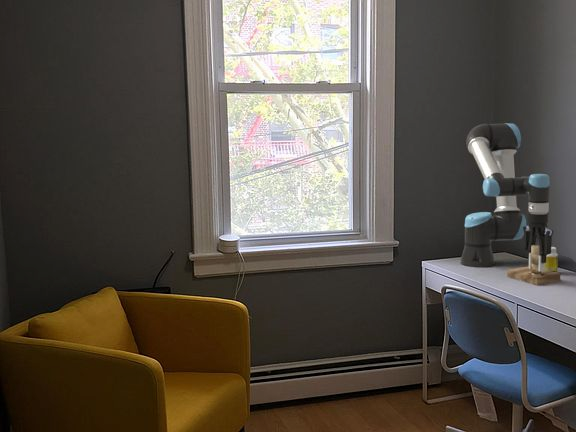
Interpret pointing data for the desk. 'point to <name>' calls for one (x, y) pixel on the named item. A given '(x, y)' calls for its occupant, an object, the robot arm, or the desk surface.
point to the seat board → (527, 276)
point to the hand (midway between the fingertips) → (536, 269)
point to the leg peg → (535, 260)
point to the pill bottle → (552, 261)
